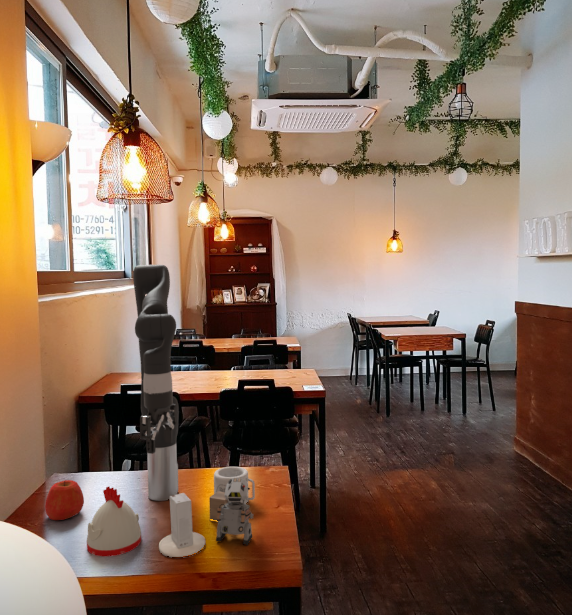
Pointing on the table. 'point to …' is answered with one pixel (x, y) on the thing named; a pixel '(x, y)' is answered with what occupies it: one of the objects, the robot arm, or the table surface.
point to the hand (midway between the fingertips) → (160, 447)
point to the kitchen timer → (113, 527)
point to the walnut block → (216, 503)
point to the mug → (229, 473)
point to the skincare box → (181, 520)
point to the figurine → (235, 512)
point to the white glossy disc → (172, 550)
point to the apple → (64, 500)
